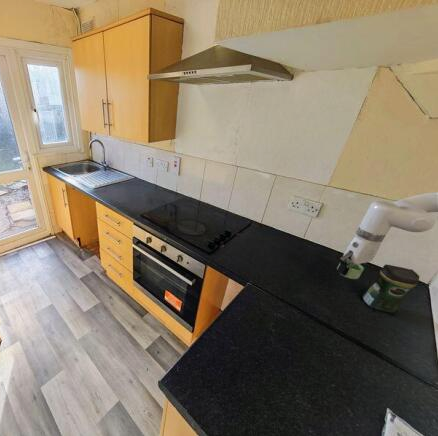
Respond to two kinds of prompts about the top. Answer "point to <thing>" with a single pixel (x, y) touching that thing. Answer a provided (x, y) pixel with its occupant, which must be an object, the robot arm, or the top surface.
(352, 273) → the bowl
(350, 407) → the top surface
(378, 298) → the coffee jar
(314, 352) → the top surface
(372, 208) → the robot arm
